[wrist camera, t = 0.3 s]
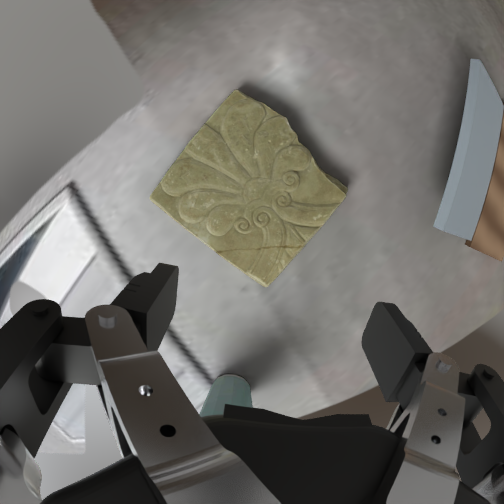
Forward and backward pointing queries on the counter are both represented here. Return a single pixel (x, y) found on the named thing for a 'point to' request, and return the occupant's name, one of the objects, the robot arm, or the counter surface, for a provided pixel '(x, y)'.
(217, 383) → the disposable coffee cup
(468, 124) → the grey plank
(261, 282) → the decorative tile
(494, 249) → the walnut board
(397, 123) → the counter surface
